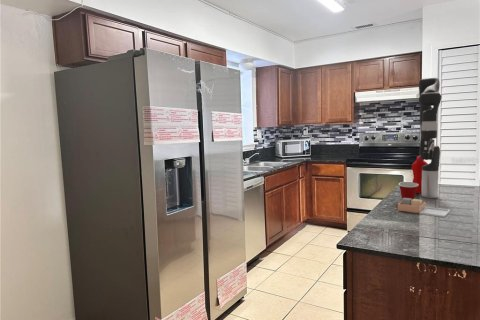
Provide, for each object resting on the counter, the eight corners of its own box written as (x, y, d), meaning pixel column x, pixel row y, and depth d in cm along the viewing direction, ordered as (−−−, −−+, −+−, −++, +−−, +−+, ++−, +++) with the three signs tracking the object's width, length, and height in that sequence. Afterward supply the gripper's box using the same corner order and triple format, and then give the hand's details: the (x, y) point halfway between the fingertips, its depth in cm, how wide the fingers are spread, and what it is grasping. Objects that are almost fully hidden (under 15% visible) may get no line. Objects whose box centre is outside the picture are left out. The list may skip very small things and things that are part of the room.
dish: (404, 206, 192) (404, 199, 191) (425, 209, 184) (425, 202, 184) (397, 210, 183) (397, 203, 182) (419, 213, 176) (419, 206, 175)
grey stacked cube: (403, 206, 188) (404, 197, 188) (411, 207, 185) (412, 198, 185) (401, 207, 185) (401, 199, 185) (409, 208, 182) (409, 200, 182)
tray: (426, 208, 185) (426, 206, 185) (450, 211, 177) (450, 209, 177) (419, 214, 175) (419, 212, 175) (444, 217, 167) (444, 215, 167)
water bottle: (407, 191, 231) (407, 155, 228) (423, 190, 231) (423, 155, 228) (413, 194, 222) (414, 157, 219) (430, 193, 221) (431, 156, 219)
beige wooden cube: (413, 207, 185) (413, 198, 184) (421, 208, 182) (422, 199, 181) (411, 209, 182) (411, 200, 181) (419, 210, 179) (419, 201, 178)
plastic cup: (397, 204, 196) (397, 184, 195) (398, 200, 206) (398, 181, 205) (418, 206, 191) (418, 185, 190) (418, 201, 201) (418, 182, 200)
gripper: (424, 129, 188) (424, 157, 190) (418, 130, 178) (417, 160, 180) (439, 129, 183) (439, 158, 185) (433, 130, 173) (433, 160, 175)
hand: (428, 159), depth 182 cm, fingers open, 8 cm apart
